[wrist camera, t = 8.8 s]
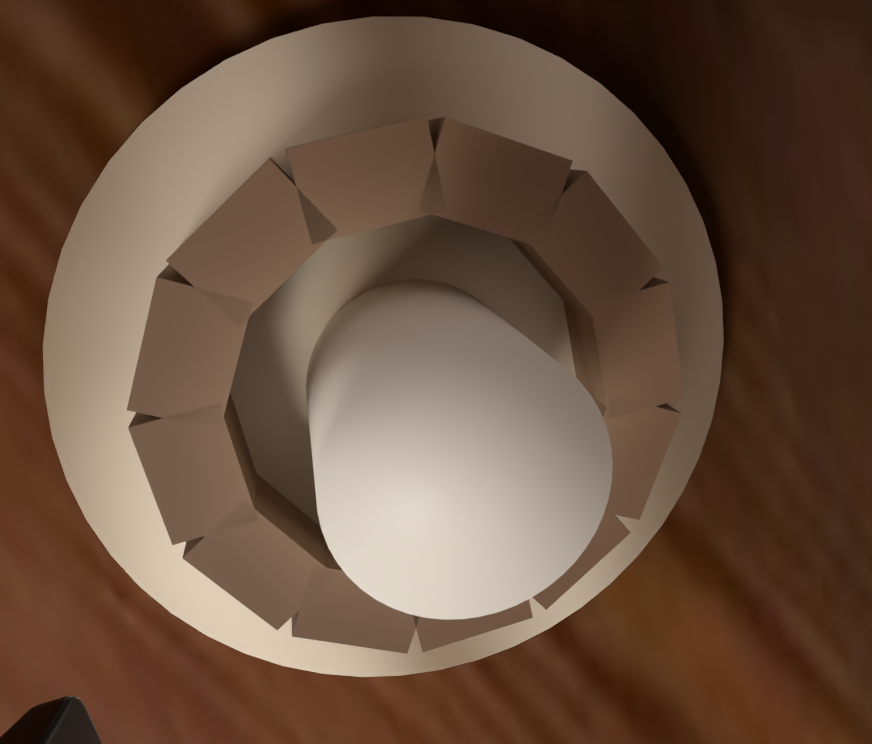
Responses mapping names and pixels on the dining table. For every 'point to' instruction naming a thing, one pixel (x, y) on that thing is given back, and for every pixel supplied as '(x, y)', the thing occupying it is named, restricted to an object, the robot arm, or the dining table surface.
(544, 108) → the tray
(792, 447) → the dining table surface
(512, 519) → the white cylinder
